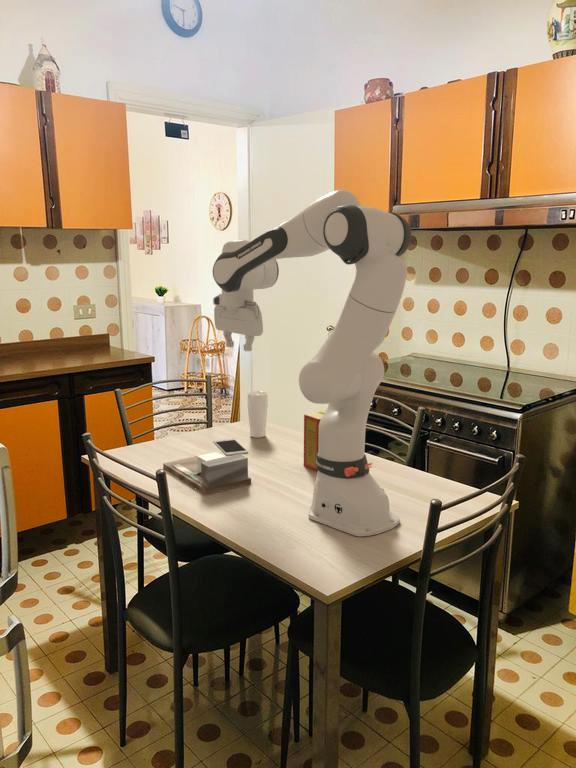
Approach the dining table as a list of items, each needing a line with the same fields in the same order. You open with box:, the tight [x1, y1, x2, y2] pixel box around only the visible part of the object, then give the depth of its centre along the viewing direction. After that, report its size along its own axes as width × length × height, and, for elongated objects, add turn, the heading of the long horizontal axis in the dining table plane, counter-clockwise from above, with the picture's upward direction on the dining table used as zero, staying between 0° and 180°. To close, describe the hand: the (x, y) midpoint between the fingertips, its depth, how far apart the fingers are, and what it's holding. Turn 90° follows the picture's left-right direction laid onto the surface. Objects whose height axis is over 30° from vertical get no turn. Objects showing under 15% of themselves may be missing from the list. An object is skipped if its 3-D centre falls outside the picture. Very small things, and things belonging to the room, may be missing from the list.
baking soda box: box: [303, 409, 327, 473], centre depth 184 cm, size 10×6×16 cm
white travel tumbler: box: [247, 390, 269, 439], centre depth 213 cm, size 7×7×15 cm
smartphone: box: [212, 438, 249, 457], centre depth 202 cm, size 7×15×1 cm, turn 22°
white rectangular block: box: [194, 451, 226, 476], centre depth 173 cm, size 5×8×5 cm, turn 126°
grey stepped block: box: [162, 454, 252, 496], centre depth 176 cm, size 25×14×8 cm, turn 36°
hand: (238, 348), depth 179 cm, fingers open, 8 cm apart
